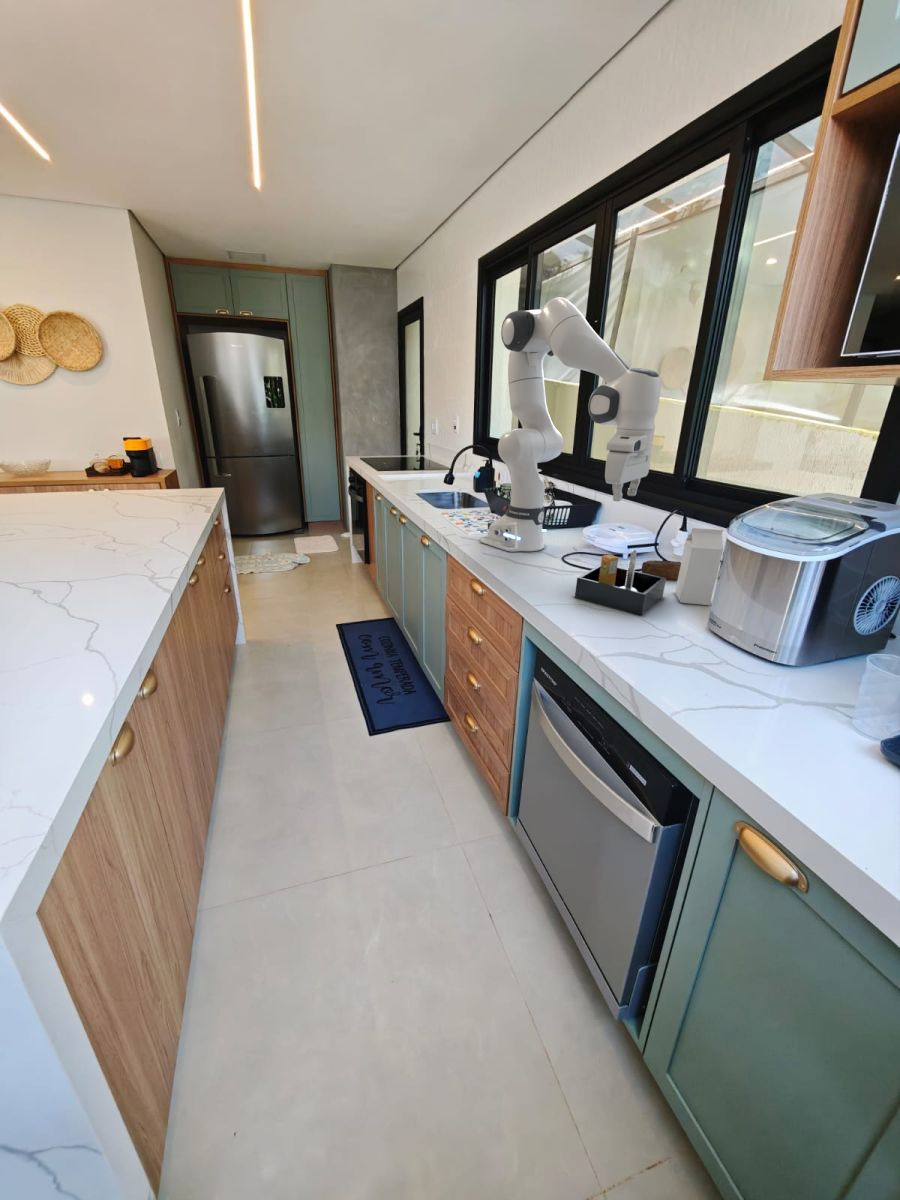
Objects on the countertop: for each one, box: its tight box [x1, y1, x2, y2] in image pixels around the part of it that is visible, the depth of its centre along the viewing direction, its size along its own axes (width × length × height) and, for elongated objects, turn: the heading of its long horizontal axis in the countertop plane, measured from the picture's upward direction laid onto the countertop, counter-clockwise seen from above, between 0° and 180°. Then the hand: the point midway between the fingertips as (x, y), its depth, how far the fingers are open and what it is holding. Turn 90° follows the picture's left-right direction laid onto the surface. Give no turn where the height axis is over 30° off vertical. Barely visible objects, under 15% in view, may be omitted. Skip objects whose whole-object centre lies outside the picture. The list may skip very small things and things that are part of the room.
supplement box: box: [599, 553, 619, 586], centre depth 133 cm, size 3×3×10 cm
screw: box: [621, 549, 638, 592], centre depth 128 cm, size 13×5×5 cm
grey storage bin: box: [574, 564, 667, 617], centre depth 131 cm, size 18×16×6 cm
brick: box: [641, 559, 681, 581], centre depth 147 cm, size 11×4×5 cm, turn 80°
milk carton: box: [674, 527, 724, 606], centre depth 129 cm, size 7×7×19 cm
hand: (624, 498), depth 128 cm, fingers open, 8 cm apart
